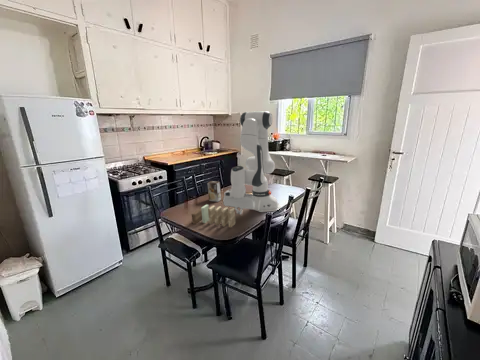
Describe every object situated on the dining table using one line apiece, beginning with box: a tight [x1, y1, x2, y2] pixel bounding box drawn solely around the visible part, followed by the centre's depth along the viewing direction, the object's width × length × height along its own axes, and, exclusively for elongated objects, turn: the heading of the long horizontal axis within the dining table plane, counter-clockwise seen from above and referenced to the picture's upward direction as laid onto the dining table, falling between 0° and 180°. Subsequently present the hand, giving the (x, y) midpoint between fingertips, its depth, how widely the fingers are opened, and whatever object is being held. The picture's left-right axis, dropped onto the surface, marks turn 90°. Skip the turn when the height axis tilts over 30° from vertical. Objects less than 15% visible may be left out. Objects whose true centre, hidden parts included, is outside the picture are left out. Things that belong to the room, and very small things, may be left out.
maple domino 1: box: [208, 204, 216, 225], centre depth 155 cm, size 2×6×11 cm, turn 157°
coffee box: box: [207, 180, 222, 203], centre depth 196 cm, size 9×6×16 cm
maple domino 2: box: [214, 205, 223, 226], centre depth 153 cm, size 2×6×11 cm, turn 157°
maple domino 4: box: [228, 207, 236, 229], centre depth 149 cm, size 2×6×11 cm, turn 157°
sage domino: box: [200, 204, 210, 224], centre depth 157 cm, size 2×6×11 cm, turn 157°
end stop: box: [191, 206, 203, 225], centre depth 160 cm, size 3×12×7 cm, turn 157°
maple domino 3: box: [221, 206, 229, 228], centre depth 151 cm, size 2×6×11 cm, turn 157°
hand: (239, 213), depth 146 cm, fingers closed
